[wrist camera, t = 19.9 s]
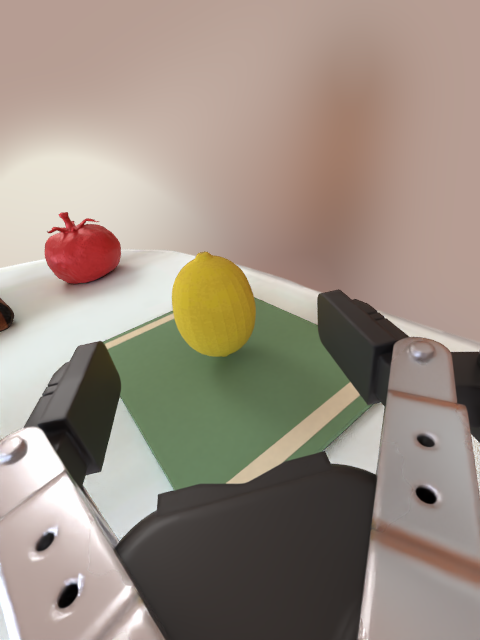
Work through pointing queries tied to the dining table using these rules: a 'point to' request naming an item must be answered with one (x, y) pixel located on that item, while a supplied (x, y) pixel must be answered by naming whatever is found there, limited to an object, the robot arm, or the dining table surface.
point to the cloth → (233, 398)
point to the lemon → (213, 305)
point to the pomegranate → (81, 251)
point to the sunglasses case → (5, 315)
